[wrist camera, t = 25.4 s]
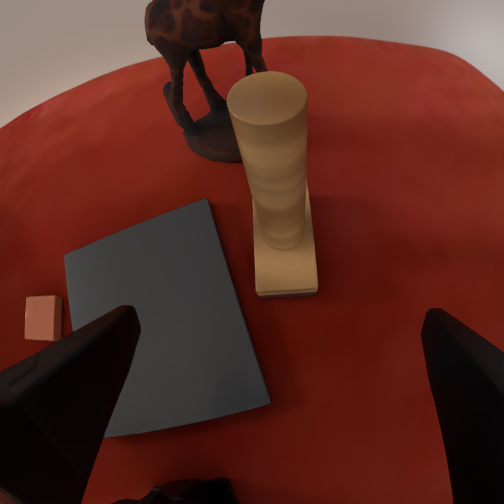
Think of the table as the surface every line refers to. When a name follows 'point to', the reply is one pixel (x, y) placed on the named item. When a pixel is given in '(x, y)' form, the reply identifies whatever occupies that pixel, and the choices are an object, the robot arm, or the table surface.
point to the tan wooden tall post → (276, 180)
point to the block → (43, 318)
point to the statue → (187, 48)
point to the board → (171, 320)
